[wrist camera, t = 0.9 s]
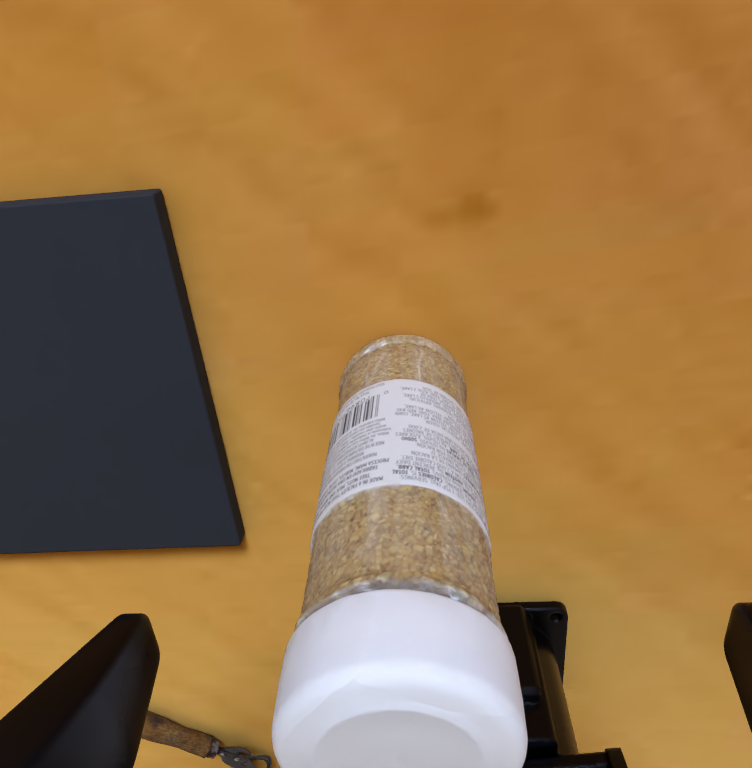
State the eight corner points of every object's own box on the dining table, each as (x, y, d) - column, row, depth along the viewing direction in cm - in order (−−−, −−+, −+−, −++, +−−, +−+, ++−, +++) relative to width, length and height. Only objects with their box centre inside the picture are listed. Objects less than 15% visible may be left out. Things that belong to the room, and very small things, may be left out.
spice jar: (384, 458, 24) (362, 858, 12) (314, 369, 23) (211, 734, 11) (491, 404, 23) (578, 795, 11) (424, 303, 21) (445, 640, 9)
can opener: (116, 708, 32) (106, 730, 31) (136, 685, 31) (127, 707, 30) (267, 775, 35) (263, 797, 34) (290, 755, 34) (287, 777, 33)
